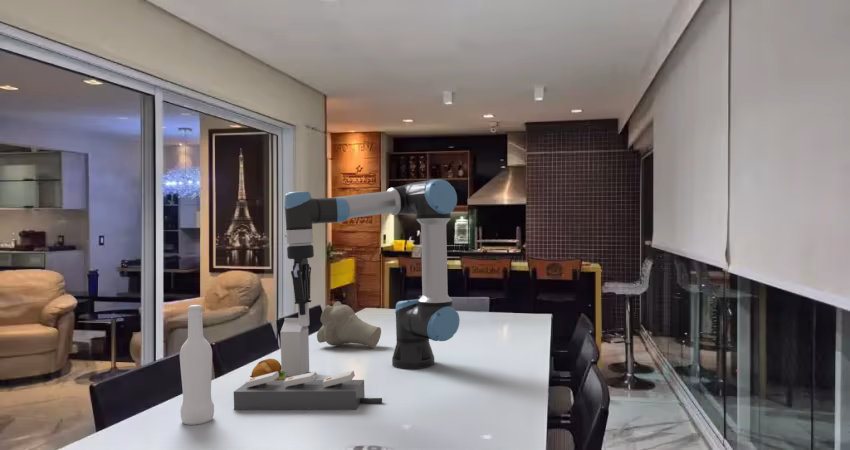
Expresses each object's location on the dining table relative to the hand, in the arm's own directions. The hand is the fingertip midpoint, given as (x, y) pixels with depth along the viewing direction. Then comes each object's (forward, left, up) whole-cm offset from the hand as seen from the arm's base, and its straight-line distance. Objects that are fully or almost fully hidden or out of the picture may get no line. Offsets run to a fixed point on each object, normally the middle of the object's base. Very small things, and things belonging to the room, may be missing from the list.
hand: (304, 325), depth 173 cm
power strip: (-3, +6, -21) cm, 22 cm away
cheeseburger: (+15, -11, -21) cm, 28 cm away
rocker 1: (+11, +6, -14) cm, 19 cm away
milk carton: (+12, -28, -21) cm, 37 cm away
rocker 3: (-11, +6, -14) cm, 19 cm away
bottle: (+23, +21, -21) cm, 37 cm away
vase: (+2, -73, -21) cm, 76 cm away
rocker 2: (0, +6, -14) cm, 15 cm away
